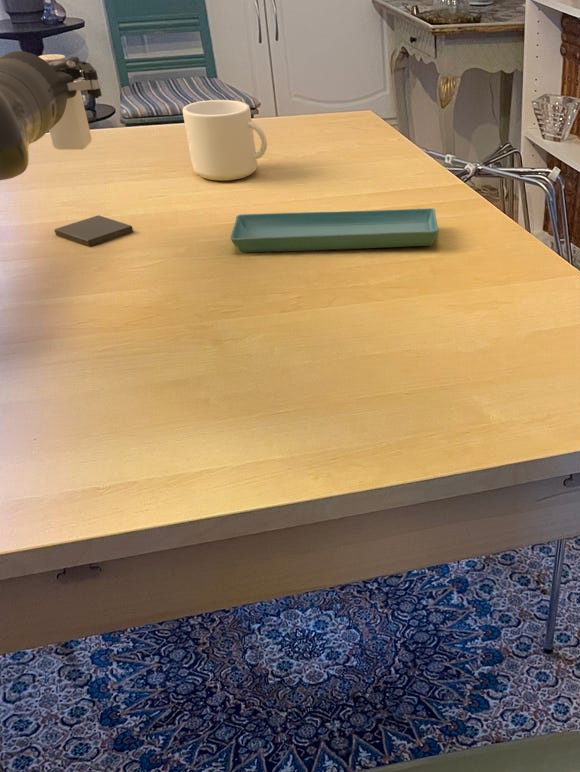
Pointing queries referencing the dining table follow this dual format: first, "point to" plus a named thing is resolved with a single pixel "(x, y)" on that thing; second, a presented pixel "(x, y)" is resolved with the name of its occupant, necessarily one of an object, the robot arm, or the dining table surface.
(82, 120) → the salt shaker
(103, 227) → the coaster
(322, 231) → the rectangular tray
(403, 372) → the dining table surface
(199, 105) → the mug
